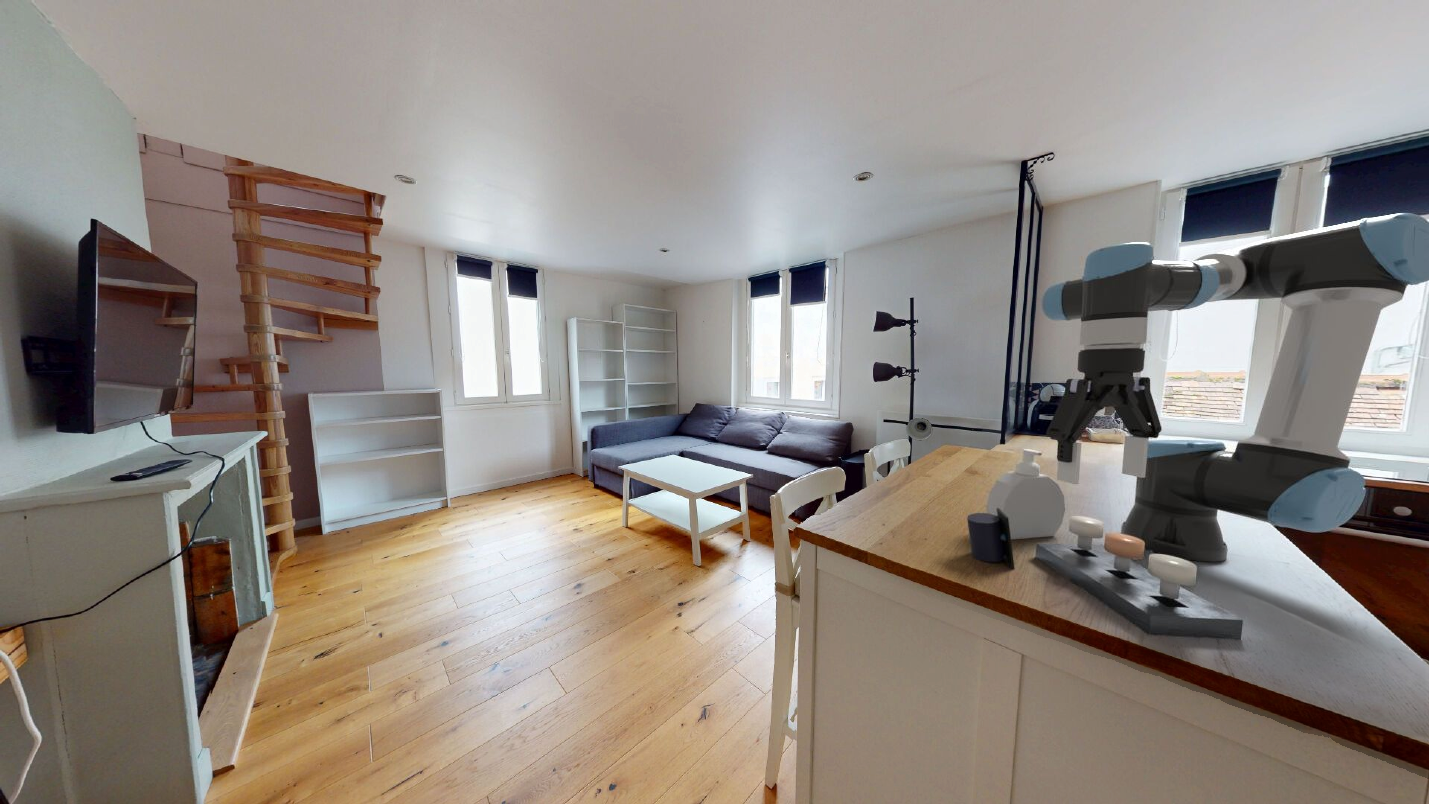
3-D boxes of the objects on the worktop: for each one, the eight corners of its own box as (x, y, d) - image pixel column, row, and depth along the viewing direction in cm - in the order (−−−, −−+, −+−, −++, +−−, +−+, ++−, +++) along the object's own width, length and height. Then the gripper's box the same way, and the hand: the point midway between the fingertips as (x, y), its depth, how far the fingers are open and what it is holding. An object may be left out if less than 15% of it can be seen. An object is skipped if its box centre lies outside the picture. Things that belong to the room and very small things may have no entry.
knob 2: (1170, 587, 64) (1173, 554, 63) (1203, 605, 59) (1207, 569, 59) (1137, 586, 64) (1140, 553, 64) (1167, 603, 60) (1171, 568, 59)
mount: (1098, 558, 81) (1100, 544, 81) (1241, 639, 58) (1243, 619, 57) (1035, 556, 83) (1036, 542, 82) (1149, 635, 59) (1150, 615, 58)
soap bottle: (1003, 541, 90) (1008, 454, 88) (984, 531, 95) (988, 449, 93) (1065, 536, 92) (1071, 451, 90) (1043, 527, 97) (1049, 446, 95)
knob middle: (1124, 562, 72) (1126, 533, 71) (1150, 576, 67) (1153, 545, 67) (1095, 561, 72) (1097, 532, 72) (1119, 575, 68) (1121, 544, 67)
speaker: (1016, 557, 82) (1012, 507, 81) (1014, 569, 78) (1010, 518, 77) (972, 550, 87) (968, 503, 86) (968, 561, 83) (964, 512, 82)
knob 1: (1087, 542, 80) (1089, 516, 79) (1108, 554, 75) (1111, 525, 74) (1061, 542, 80) (1063, 515, 80) (1080, 553, 75) (1083, 525, 75)
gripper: (1141, 347, 69) (1132, 467, 72) (1022, 349, 65) (1016, 478, 67) (1201, 345, 62) (1189, 479, 64) (1072, 347, 57) (1063, 492, 59)
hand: (1101, 478), depth 65 cm, fingers open, 13 cm apart
